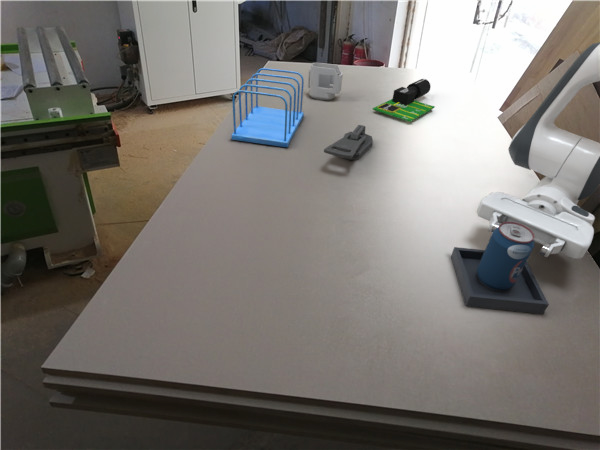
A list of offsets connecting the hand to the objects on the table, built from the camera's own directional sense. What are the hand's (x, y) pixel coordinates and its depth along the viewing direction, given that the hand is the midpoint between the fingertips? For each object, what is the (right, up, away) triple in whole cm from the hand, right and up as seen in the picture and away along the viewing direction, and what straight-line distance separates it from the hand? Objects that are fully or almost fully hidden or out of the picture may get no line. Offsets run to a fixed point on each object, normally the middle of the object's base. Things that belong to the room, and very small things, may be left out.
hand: (517, 240), depth 75 cm
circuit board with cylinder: (+1, +46, +76) cm, 89 cm away
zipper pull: (-26, +23, +43) cm, 55 cm away
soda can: (-3, -8, +3) cm, 9 cm away
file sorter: (-50, +34, +56) cm, 82 cm away
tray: (-3, -8, +3) cm, 9 cm away
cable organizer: (-31, +51, +80) cm, 100 cm away
